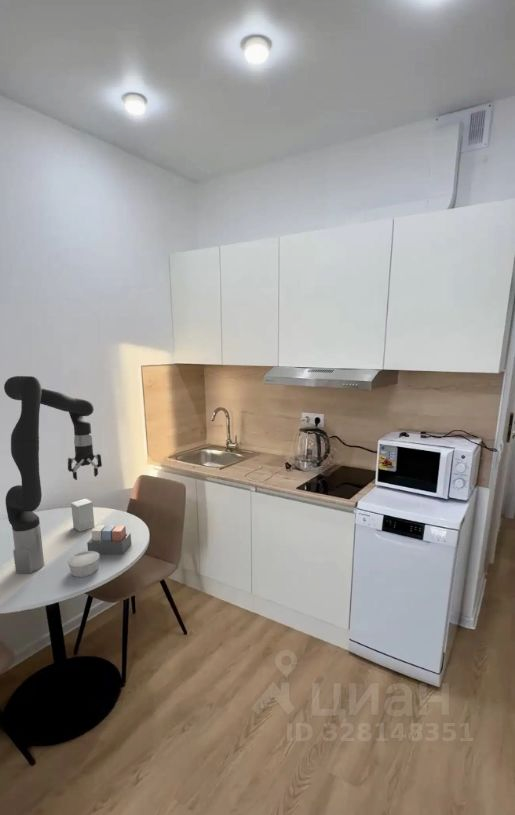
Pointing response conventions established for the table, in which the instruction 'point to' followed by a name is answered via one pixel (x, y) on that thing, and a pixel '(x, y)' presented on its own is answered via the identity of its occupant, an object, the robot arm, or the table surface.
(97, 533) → the ivory key
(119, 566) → the table surface
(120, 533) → the pink block
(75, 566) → the ramekin
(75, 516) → the supplement box
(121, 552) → the dark grey tray
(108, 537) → the slate blue key
